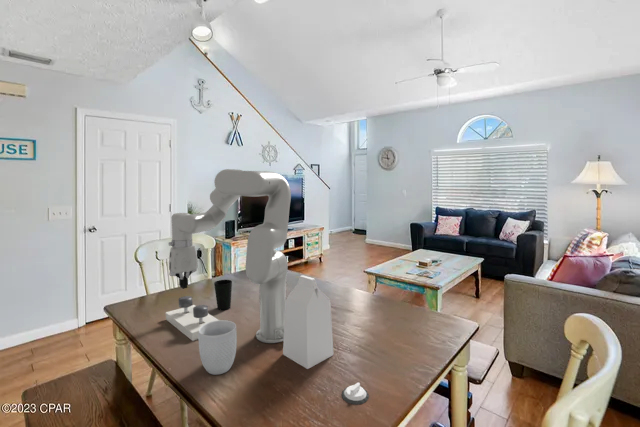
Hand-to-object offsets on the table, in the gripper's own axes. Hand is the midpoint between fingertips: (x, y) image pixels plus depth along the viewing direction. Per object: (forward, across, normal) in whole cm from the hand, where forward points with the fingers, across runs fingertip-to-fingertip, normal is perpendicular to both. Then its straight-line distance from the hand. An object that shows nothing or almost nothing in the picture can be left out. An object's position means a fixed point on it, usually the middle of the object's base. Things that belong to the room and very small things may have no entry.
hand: (183, 287), depth 135 cm
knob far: (+10, 0, -1) cm, 11 cm away
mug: (+13, -7, -43) cm, 45 cm away
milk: (+12, +17, -57) cm, 61 cm away
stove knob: (+12, +12, -81) cm, 83 cm away
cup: (+13, +17, -1) cm, 22 cm away
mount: (+13, 0, -8) cm, 15 cm away
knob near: (+10, 0, -15) cm, 18 cm away
